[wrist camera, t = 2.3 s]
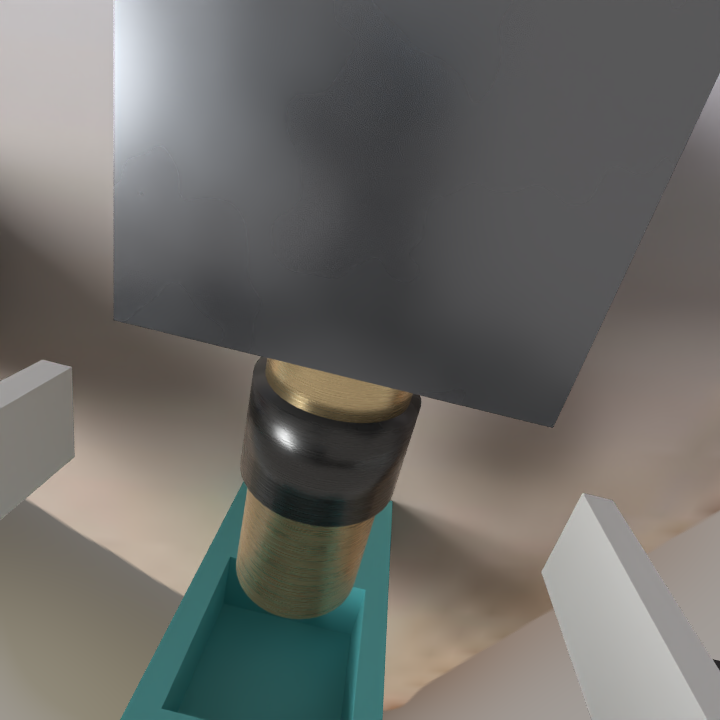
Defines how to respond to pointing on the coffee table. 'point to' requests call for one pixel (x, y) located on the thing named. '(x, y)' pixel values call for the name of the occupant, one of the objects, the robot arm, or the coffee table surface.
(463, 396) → the grey matte cuboid
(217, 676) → the socket
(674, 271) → the coffee table surface
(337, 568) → the brass tube
